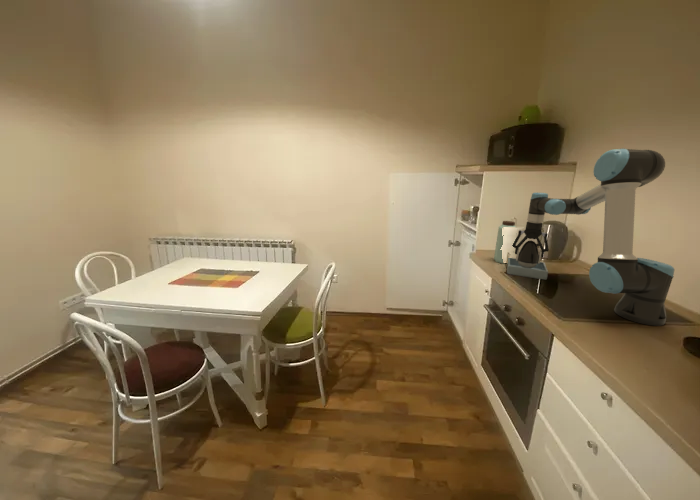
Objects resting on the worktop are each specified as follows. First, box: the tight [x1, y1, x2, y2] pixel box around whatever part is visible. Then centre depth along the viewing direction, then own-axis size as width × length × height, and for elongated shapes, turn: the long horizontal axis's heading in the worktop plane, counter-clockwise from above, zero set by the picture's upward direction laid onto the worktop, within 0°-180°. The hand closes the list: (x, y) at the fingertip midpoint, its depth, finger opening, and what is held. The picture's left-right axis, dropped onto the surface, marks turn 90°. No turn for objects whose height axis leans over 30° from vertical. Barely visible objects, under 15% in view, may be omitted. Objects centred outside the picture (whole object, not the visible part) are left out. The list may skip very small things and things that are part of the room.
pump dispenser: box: [518, 239, 543, 268], centre depth 172 cm, size 10×10×15 cm
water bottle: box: [493, 220, 516, 264], centre depth 190 cm, size 10×10×25 cm
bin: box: [506, 257, 549, 281], centre depth 174 cm, size 19×19×4 cm
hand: (527, 261), depth 173 cm, fingers closed on pump dispenser, 10 cm apart
